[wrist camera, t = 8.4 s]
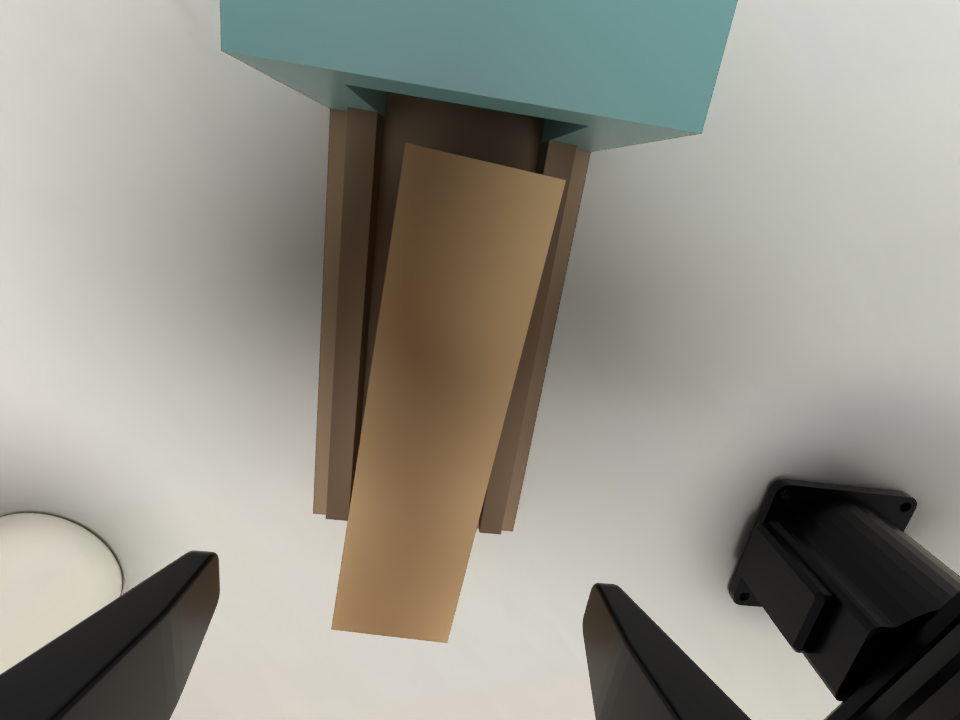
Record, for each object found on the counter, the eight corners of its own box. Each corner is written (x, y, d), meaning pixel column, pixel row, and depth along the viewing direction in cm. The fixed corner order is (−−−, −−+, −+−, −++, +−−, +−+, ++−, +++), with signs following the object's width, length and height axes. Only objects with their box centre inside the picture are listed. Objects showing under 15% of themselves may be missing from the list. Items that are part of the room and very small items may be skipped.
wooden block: (532, 178, 16) (566, 180, 11) (448, 535, 21) (447, 643, 16) (420, 152, 16) (405, 142, 11) (359, 523, 20) (331, 629, 15)
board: (623, -47, 15) (655, -88, 12) (510, 515, 22) (517, 557, 19) (347, -104, 14) (326, -159, 12) (319, 498, 21) (302, 539, 18)
